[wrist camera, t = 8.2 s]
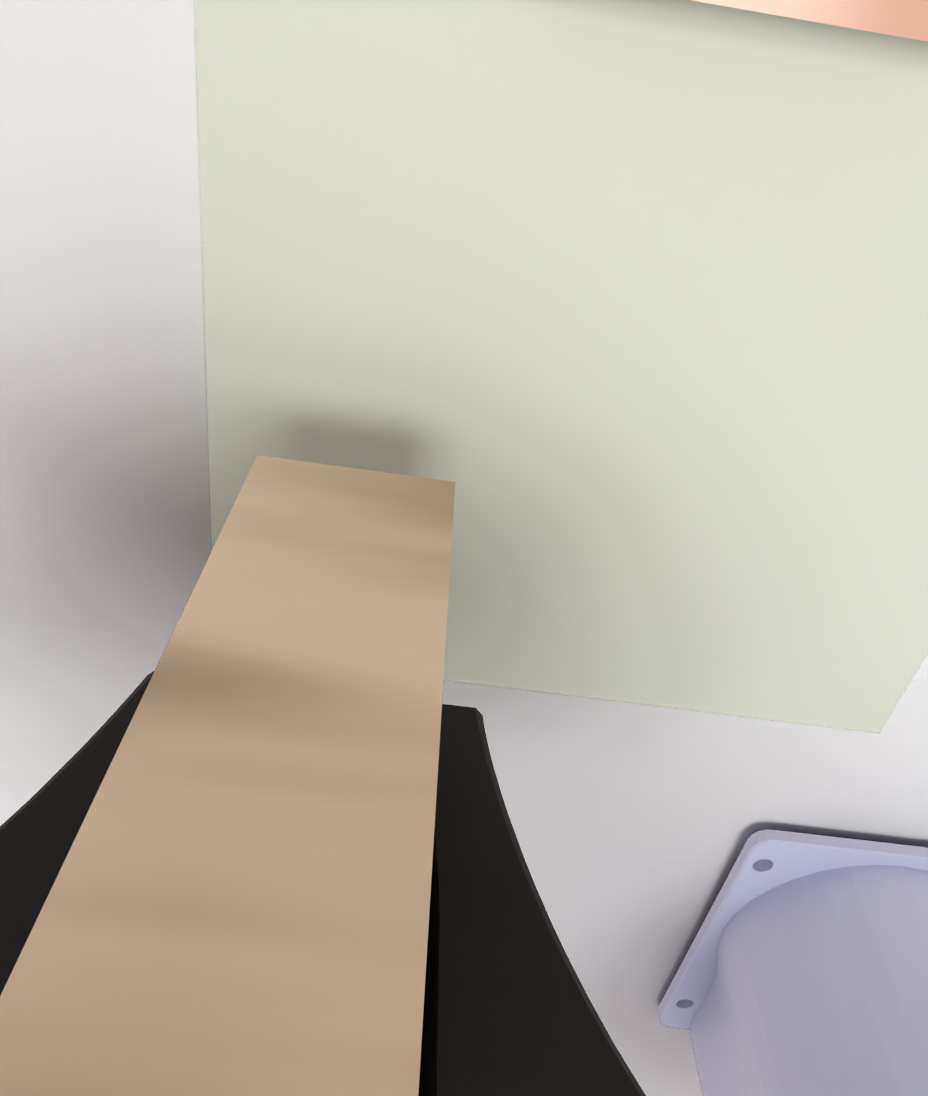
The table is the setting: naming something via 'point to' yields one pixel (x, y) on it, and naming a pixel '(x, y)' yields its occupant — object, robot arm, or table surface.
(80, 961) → the tan wood plank
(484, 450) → the sage mat
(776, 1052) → the robot arm
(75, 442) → the table surface
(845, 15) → the peach teal block
